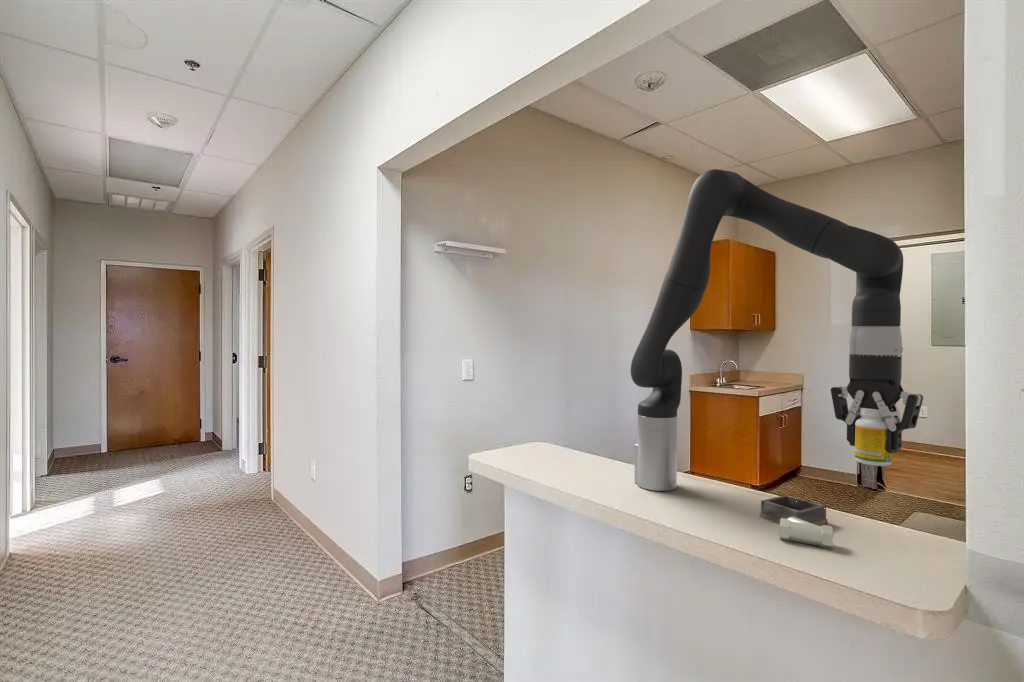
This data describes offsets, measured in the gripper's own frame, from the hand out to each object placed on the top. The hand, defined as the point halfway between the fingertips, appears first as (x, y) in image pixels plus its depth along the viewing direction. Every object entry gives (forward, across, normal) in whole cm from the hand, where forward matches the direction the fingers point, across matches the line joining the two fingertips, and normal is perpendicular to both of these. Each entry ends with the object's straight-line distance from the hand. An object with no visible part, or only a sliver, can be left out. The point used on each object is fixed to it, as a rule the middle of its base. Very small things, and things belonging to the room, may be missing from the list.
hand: (873, 448), depth 90 cm
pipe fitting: (+17, -6, -9) cm, 20 cm away
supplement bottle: (+3, 0, 0) cm, 3 cm away
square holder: (+17, -14, -1) cm, 22 cm away
